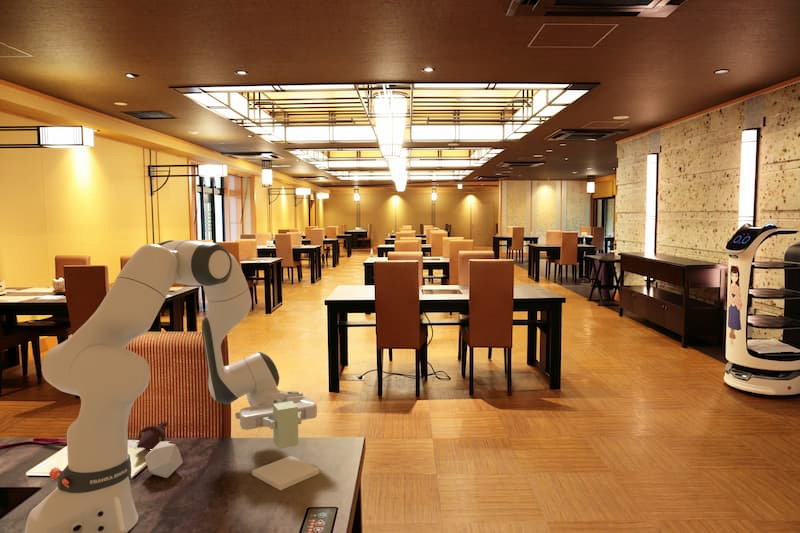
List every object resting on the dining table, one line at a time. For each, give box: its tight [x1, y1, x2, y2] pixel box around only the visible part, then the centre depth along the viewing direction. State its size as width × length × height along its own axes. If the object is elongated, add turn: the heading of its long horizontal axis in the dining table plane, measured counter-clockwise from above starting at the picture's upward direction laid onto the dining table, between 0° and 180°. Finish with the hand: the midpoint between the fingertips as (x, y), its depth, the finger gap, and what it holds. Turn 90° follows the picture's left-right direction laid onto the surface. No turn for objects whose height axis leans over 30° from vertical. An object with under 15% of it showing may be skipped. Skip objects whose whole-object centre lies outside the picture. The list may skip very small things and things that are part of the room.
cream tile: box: [251, 455, 320, 491], centre depth 140 cm, size 12×12×1 cm
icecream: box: [136, 421, 168, 451], centre depth 154 cm, size 7×8×15 cm
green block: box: [272, 401, 299, 450], centre depth 139 cm, size 5×5×10 cm
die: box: [144, 441, 184, 479], centre depth 139 cm, size 8×9×10 cm
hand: (286, 423), depth 138 cm, fingers closed on green block, 5 cm apart
